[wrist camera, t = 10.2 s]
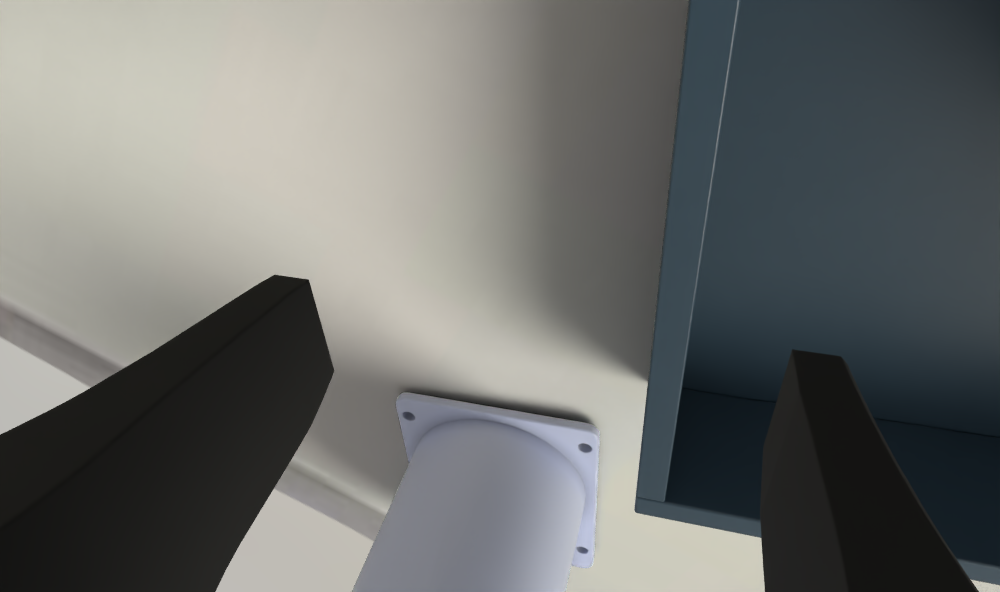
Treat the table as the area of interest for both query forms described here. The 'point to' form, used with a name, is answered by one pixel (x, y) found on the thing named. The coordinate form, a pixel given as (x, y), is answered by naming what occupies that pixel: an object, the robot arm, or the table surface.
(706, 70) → the tub
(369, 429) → the table surface
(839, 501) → the robot arm
